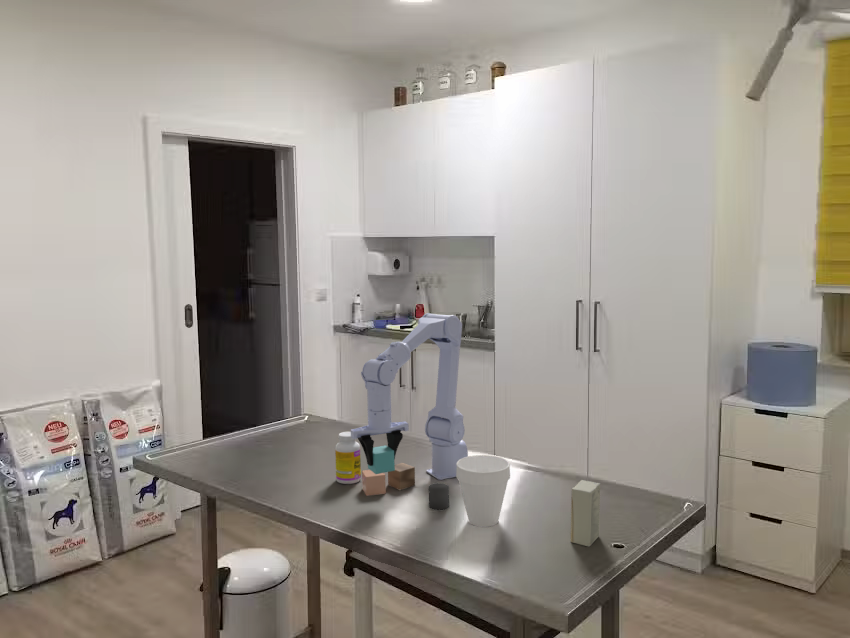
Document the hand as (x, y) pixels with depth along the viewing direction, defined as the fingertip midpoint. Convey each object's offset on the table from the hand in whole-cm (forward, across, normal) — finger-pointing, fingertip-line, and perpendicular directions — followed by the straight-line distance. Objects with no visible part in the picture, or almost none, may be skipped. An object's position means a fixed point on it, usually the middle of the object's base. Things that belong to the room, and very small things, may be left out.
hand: (380, 462), depth 177 cm
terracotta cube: (+10, -1, -8) cm, 13 cm away
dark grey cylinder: (+10, -11, +10) cm, 18 cm away
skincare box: (+10, -30, +41) cm, 52 cm away
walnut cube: (+10, -9, -8) cm, 16 cm away
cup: (+10, -16, +22) cm, 29 cm away
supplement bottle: (+10, +2, -18) cm, 21 cm away
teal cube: (+2, 0, 0) cm, 2 cm away
